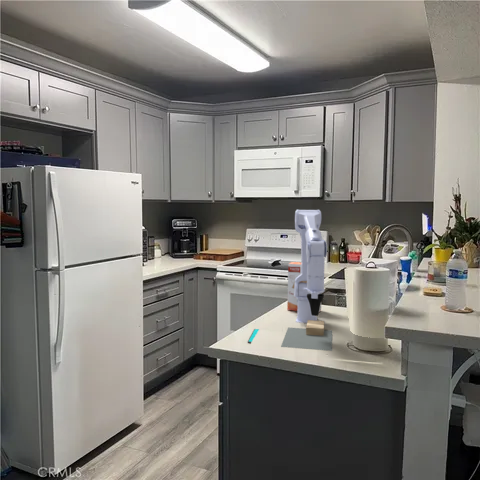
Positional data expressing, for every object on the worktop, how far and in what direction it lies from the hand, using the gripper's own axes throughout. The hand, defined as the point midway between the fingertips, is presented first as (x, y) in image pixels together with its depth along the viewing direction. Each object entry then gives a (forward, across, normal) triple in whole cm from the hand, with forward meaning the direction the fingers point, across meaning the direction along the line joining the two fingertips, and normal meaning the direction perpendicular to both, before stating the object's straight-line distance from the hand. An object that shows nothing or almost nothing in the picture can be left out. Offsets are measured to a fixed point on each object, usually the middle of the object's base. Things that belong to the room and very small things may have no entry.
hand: (314, 315), depth 143 cm
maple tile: (+6, -2, 0) cm, 7 cm away
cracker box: (+8, -38, -6) cm, 39 cm away
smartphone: (+9, +3, -18) cm, 20 cm away
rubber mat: (+8, +2, -2) cm, 9 cm away
